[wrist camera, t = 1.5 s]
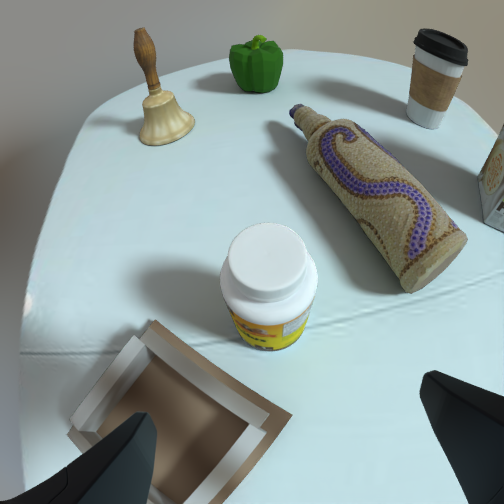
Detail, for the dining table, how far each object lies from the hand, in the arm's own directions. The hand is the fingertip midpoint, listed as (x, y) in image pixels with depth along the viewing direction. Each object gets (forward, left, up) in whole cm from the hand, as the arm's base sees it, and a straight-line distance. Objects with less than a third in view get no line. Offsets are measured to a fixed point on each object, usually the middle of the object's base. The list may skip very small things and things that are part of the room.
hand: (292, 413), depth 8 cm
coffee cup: (+45, +1, -13) cm, 47 cm away
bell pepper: (+37, +27, -13) cm, 47 cm away
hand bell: (+21, +32, -13) cm, 40 cm away
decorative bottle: (+23, +4, -14) cm, 27 cm away
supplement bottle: (+6, +5, -13) cm, 15 cm away
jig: (-6, +6, -13) cm, 16 cm away
